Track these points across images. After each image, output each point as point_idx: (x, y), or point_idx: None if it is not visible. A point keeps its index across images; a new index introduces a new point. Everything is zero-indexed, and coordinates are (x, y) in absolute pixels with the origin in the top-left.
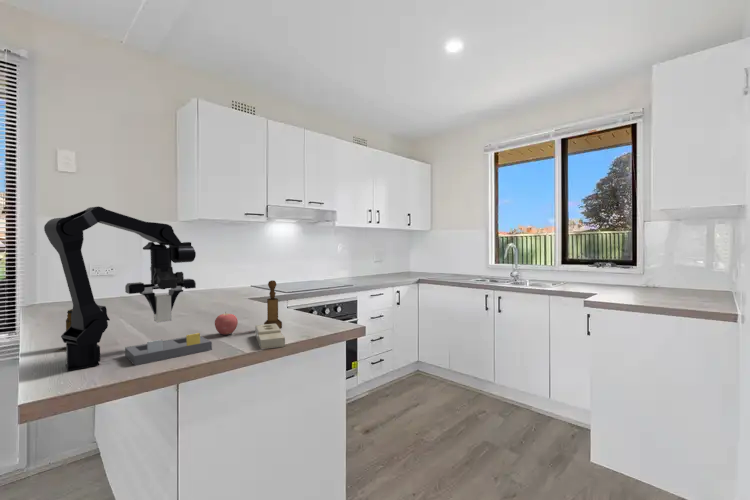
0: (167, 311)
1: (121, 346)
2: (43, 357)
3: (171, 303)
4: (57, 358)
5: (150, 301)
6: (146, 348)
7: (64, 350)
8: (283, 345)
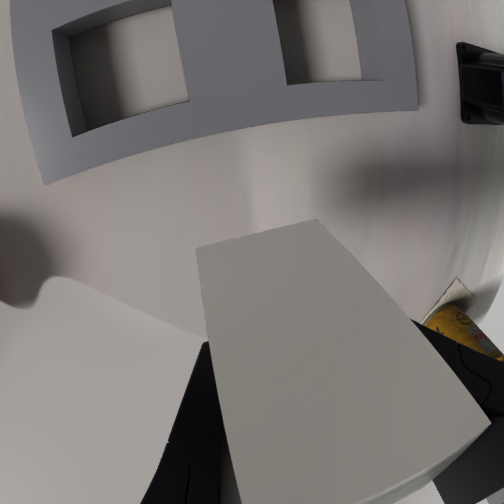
0: (251, 300)
1: None
2: (498, 254)
3: (211, 417)
4: (493, 225)
5: (491, 359)
6: (331, 81)
7: (464, 298)
8: None
